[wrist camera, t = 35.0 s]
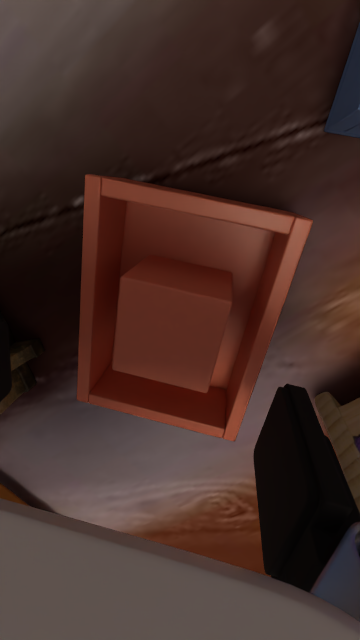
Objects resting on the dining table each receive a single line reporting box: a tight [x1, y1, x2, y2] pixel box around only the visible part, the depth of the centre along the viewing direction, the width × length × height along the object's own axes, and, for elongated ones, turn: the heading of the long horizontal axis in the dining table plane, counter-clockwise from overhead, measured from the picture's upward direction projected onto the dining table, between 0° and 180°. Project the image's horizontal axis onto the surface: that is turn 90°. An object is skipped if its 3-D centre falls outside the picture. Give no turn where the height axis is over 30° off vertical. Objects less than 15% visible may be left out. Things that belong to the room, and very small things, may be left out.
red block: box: [112, 255, 233, 393], centre depth 13 cm, size 4×4×4 cm
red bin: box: [77, 174, 313, 441], centre depth 14 cm, size 8×10×4 cm
